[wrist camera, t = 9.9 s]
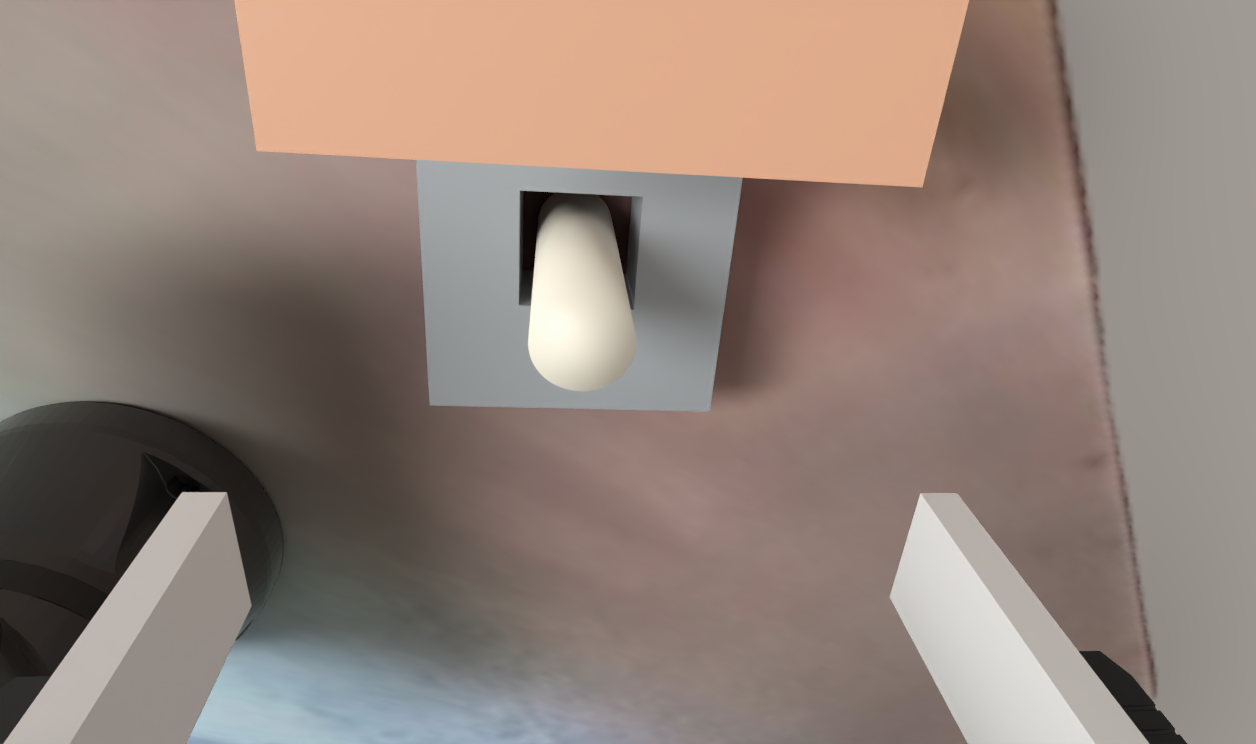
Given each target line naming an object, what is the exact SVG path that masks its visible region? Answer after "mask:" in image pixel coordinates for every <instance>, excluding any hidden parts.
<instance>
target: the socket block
mask: <svg viewBox="0 0 1256 744" xmlns="http://www.w3.org/2000/svg"><path fill="white" fill-rule="evenodd" d="M416 169H417V187H418V206H419V224H420V242H421V260H422V279H423V297H424V315H425V333H426V352H427V370H428V388H429V405H430V406H475V407H520V408H565V409H610V410H654V411H699V412H710V406H711V399H712V392H713V385H714V377H715V370H716V363H717V356H718V349H719V342H720V335H721V328H722V321H723V314H724V307H725V299H726V292H727V285H728V278H729V271H730V264H731V257H732V250H733V243H734V236H735V229H736V222H737V214H738V207H739V200H740V193H741V186H742V179H743V178H741V177H723V176H705V175H686V174H668V173H650V172H632V171H613V170H595V169H577V168H559V167H540V166H522V165H504V164H486V163H467V162H449V161H431V160H416ZM524 191H539V192H558V193H578V194H597V195H617V196H632V203H631V217H630V230H629V243H628V257H627V270H626V275H624V280H625V285H626V290H627V294H628V299H629V304H630V309H631V314H632V318H633V323H634V328H635V333H636V351H635V355H634V358H633V360H632V362H631V364H630V366H629V367H628V369H627V370H626V371H625V373H624V374H623V375H622V376H621V377H620V378H618V379H617V380H616V381H614V382H613V383H611V384H609V385H607V386H605V387H603V388H600V389H596V390H591V391H572V390H567V389H564V388H561V387H558V386H556V385H554V384H552V383H551V382H549V381H548V380H547V379H545V378H544V377H543V376H542V375H541V374H540V373H539V372H538V370H537V369H536V368H535V366H534V364H533V362H532V360H531V357H530V354H529V350H528V335H529V324H530V312H531V300H532V288H533V276H534V271H525V270H523V225H524Z"/></svg>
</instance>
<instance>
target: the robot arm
mask: <svg viewBox="0 0 1256 744" xmlns="http://www.w3.org/2000/svg"><path fill="white" fill-rule="evenodd" d="M282 557H283V538H282V531H281V527H280V523H279V520H278V517H277V514H276V512H275V509H274V507H273V505H272V503H271V501H270V499H269V497H268V496H267V494H266V492H265V491H264V489H263V488H262V486H261V485H260V484H259V482H258V481H257V480H256V479H255V477H254V476H253V475H252V474H251V473H250V472H249V471H248V470H247V468H246V467H245V466H244V465H243V464H242V463H241V462H239V461H238V460H237V459H236V458H235V457H234V456H233V455H231V454H230V453H229V452H228V451H226V450H225V449H224V448H223V447H221V446H220V445H218V444H217V443H215V442H214V441H212V440H211V439H209V438H208V437H206V436H204V435H203V434H201V433H199V432H197V431H195V430H194V429H192V428H190V427H188V426H185V425H183V424H181V423H179V422H177V421H174V420H172V419H169V418H167V417H164V416H161V415H158V414H155V413H152V412H148V411H145V410H141V409H137V408H133V407H128V406H123V405H117V404H109V403H99V402H68V403H58V404H51V405H46V406H41V407H36V408H33V409H29V410H26V411H23V412H21V413H18V414H15V415H13V416H11V417H9V418H7V419H5V420H3V421H1V422H0V744H186V743H187V741H188V739H189V737H190V735H191V733H192V730H193V728H194V726H195V724H196V722H197V720H198V718H199V716H200V714H201V711H202V709H203V707H204V705H205V703H206V701H207V699H208V697H209V695H210V693H211V690H212V688H213V686H214V684H215V682H216V680H217V678H218V676H219V674H220V671H221V669H222V667H223V665H224V663H225V661H226V659H227V657H228V655H229V652H230V650H231V648H232V646H233V644H234V642H235V641H236V640H238V639H239V638H240V637H241V636H242V635H243V634H244V633H245V632H246V631H247V630H248V629H249V628H250V626H251V625H252V624H253V623H254V621H255V620H256V618H257V617H258V615H259V614H260V612H261V610H262V609H263V607H264V605H265V603H266V601H267V598H268V596H269V594H270V592H271V590H272V588H273V586H274V583H275V581H276V579H277V576H278V574H279V571H280V567H281V563H282ZM890 599H891V601H892V603H893V604H894V606H895V608H896V610H897V612H898V614H899V616H900V618H901V619H902V621H903V623H904V625H905V627H906V629H907V631H908V633H909V634H910V636H911V638H912V640H913V642H914V644H915V646H916V648H917V649H918V651H919V653H920V655H921V657H922V659H923V661H924V663H925V664H926V666H927V668H928V670H929V672H930V674H931V676H932V678H933V679H934V681H935V683H936V685H937V687H938V689H939V691H940V693H941V694H942V696H943V698H944V700H945V702H946V704H947V706H948V708H949V709H950V711H951V713H952V715H953V717H954V719H955V721H956V723H957V724H958V726H959V728H960V730H961V732H962V734H963V736H964V738H965V739H966V741H967V743H968V744H1187V743H1186V742H1185V740H1184V739H1183V738H1182V737H1181V736H1180V735H1177V734H1176V733H1175V728H1174V727H1173V726H1172V725H1171V723H1170V722H1169V721H1168V720H1167V718H1166V717H1165V716H1164V715H1163V713H1162V712H1161V711H1157V710H1156V708H1155V704H1154V702H1153V701H1152V700H1151V699H1150V698H1149V696H1148V695H1147V694H1146V693H1145V691H1144V690H1143V689H1142V688H1141V687H1140V685H1139V684H1138V683H1137V682H1136V680H1135V679H1134V678H1133V677H1132V676H1131V675H1130V674H1129V673H1127V672H1126V671H1125V670H1124V669H1122V668H1121V667H1120V666H1118V665H1117V664H1116V663H1115V662H1113V661H1112V660H1111V659H1109V658H1108V657H1107V656H1106V655H1104V654H1103V653H1102V652H1100V651H1078V650H1077V649H1076V647H1075V646H1074V645H1073V644H1072V642H1071V641H1070V640H1069V638H1068V637H1067V636H1066V634H1065V633H1064V632H1063V630H1062V629H1061V628H1060V627H1059V625H1058V624H1057V623H1056V621H1055V620H1054V619H1053V617H1052V616H1051V615H1050V614H1049V612H1048V611H1047V610H1046V608H1045V607H1044V606H1043V604H1042V603H1041V602H1040V601H1039V599H1038V598H1037V597H1036V595H1035V594H1034V593H1033V591H1032V590H1031V589H1030V588H1029V586H1028V585H1027V584H1026V582H1025V581H1024V580H1023V578H1022V577H1021V576H1020V574H1019V573H1018V572H1017V571H1016V569H1015V568H1014V567H1013V565H1012V564H1011V563H1010V561H1009V560H1008V559H1007V558H1006V556H1005V555H1004V554H1003V552H1002V551H1001V550H1000V548H999V547H998V546H997V545H996V543H995V542H994V541H993V539H992V538H991V537H990V535H989V534H988V533H987V532H986V530H985V529H984V528H983V526H982V525H981V524H980V522H979V521H978V520H977V518H976V517H975V516H974V515H973V513H972V512H971V511H970V509H969V508H968V507H967V505H966V504H965V503H964V502H963V500H962V499H961V498H960V496H959V495H958V494H957V493H920V496H919V500H918V503H917V507H916V510H915V513H914V517H913V520H912V523H911V527H910V530H909V534H908V537H907V540H906V544H905V547H904V550H903V554H902V557H901V560H900V564H899V567H898V571H897V574H896V577H895V581H894V584H893V587H892V591H891V594H890Z"/></svg>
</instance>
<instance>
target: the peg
mask: <svg viewBox="0 0 1256 744" xmlns="http://www.w3.org/2000/svg"><path fill="white" fill-rule="evenodd" d="M528 350H529V354H530V357H531V360H532V362H533V364H534V366H535V368H536V369H537V370H538V372H539V373H540V374H541V375H542V376H543V377H544V378H545V379H547V380H548V381H549V382H551V383H552V384H554V385H556V386H558V387H561V388H564V389H567V390H572V391H591V390H596V389H600V388H603V387H605V386H607V385H609V384H611V383H613V382H614V381H616V380H617V379H618V378H620V377H621V376H622V375H623V374H624V373H625V371H626V370H627V369H628V367H629V366H630V364H631V362H632V360H633V358H634V355H635V351H636V333H635V328H634V323H633V318H632V314H631V309H630V304H629V299H628V294H627V290H626V285H625V280H624V275H623V271H622V266H621V261H620V256H619V251H618V247H617V242H616V237H615V232H614V227H613V223H612V218H611V214H610V211H609V209H608V207H607V205H606V203H605V202H604V201H603V200H602V199H601V198H600V197H599V196H598V195H597V194H578V193H558V192H556V193H554V194H553V195H551V196H550V197H549V198H548V199H547V200H546V201H545V203H544V204H543V206H542V208H541V210H540V213H539V217H538V228H537V240H536V252H535V264H534V276H533V288H532V300H531V312H530V324H529V335H528Z"/></svg>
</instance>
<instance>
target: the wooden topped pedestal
mask: <svg viewBox="0 0 1256 744" xmlns="http://www.w3.org/2000/svg"><path fill="white" fill-rule="evenodd" d="M234 1H235V8H236V15H237V22H238V28H239V35H240V42H241V48H242V55H243V62H244V69H245V75H246V82H247V89H248V95H249V102H250V109H251V116H252V122H253V129H254V136H255V142H256V149H257V151H267V152H285V153H303V154H321V155H340V156H358V157H376V158H394V159H413V160H431V161H449V162H467V163H486V164H504V165H522V166H540V167H559V168H577V169H595V170H613V171H632V172H650V173H668V174H686V175H705V176H723V177H741V178H760V179H778V180H796V181H814V182H833V183H851V184H869V185H887V186H906V187H923V183H924V179H925V175H926V171H927V167H928V163H929V159H930V155H931V151H932V147H933V143H934V139H935V135H936V131H937V127H938V123H939V119H940V115H941V111H942V107H943V103H944V99H945V95H946V91H947V87H948V83H949V79H950V75H951V71H952V67H953V63H954V59H955V55H956V51H957V47H958V43H959V39H960V35H961V31H962V27H963V23H964V19H965V15H966V11H967V7H968V3H969V0H234Z"/></svg>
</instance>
